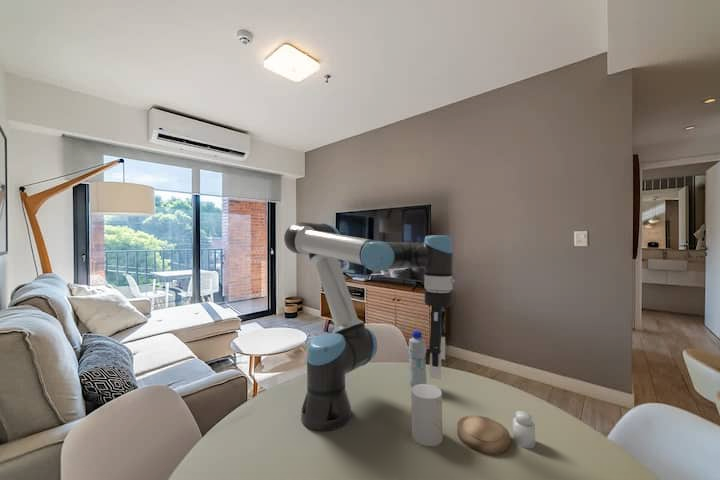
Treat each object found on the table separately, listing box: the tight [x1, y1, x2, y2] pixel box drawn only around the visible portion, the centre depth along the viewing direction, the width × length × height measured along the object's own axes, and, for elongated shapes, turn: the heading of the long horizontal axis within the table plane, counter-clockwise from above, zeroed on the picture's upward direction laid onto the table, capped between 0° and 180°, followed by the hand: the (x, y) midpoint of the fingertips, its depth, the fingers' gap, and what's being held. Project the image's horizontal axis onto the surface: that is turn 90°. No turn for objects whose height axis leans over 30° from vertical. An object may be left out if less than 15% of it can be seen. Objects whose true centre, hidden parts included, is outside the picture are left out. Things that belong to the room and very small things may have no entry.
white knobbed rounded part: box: [512, 410, 536, 450], centre depth 75 cm, size 5×5×7 cm
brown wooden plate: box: [456, 415, 511, 455], centre depth 77 cm, size 13×13×2 cm
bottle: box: [407, 330, 427, 387], centre depth 107 cm, size 7×7×20 cm
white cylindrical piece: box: [410, 383, 444, 447], centre depth 78 cm, size 8×8×12 cm
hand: (438, 367), depth 79 cm, fingers open, 13 cm apart
